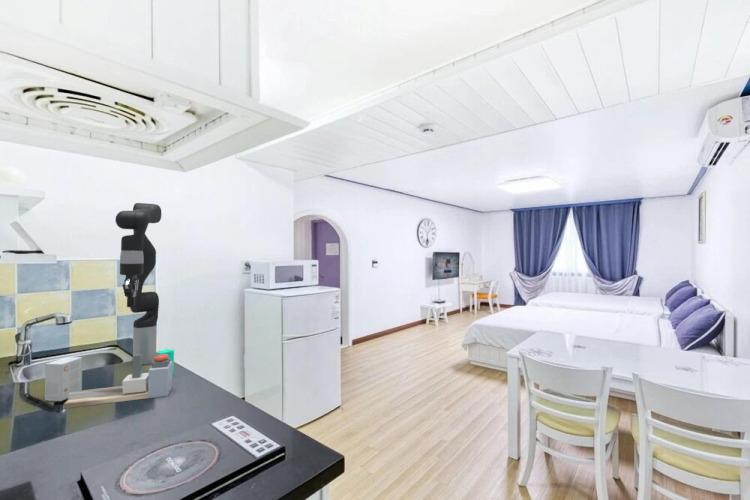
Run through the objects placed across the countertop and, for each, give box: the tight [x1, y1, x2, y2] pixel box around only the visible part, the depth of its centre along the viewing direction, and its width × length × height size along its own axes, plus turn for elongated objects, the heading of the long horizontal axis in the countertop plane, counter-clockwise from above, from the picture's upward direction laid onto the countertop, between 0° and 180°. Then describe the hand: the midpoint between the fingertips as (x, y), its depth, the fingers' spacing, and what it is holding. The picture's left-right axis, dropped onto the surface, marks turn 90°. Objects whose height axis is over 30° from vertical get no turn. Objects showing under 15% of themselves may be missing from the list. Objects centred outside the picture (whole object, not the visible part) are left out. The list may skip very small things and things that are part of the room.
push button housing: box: [147, 358, 173, 399], centre depth 128 cm, size 9×6×12 cm, turn 22°
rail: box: [62, 384, 149, 409], centre depth 122 cm, size 9×24×4 cm, turn 112°
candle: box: [157, 348, 175, 377], centre depth 145 cm, size 6×6×12 cm
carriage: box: [121, 354, 149, 394], centre depth 125 cm, size 7×7×13 cm
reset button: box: [154, 354, 168, 361], centre depth 128 cm, size 4×4×3 cm
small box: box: [44, 356, 83, 402], centre depth 123 cm, size 8×6×13 cm
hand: (130, 306), depth 133 cm, fingers closed
